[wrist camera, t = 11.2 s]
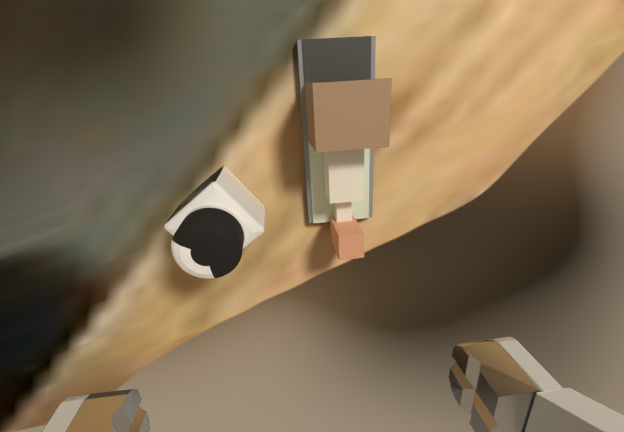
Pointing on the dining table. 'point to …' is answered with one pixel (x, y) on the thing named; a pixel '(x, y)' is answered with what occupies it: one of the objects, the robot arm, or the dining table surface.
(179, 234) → the medicine bottle
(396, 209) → the dining table surface
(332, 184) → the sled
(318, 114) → the tunnel board
